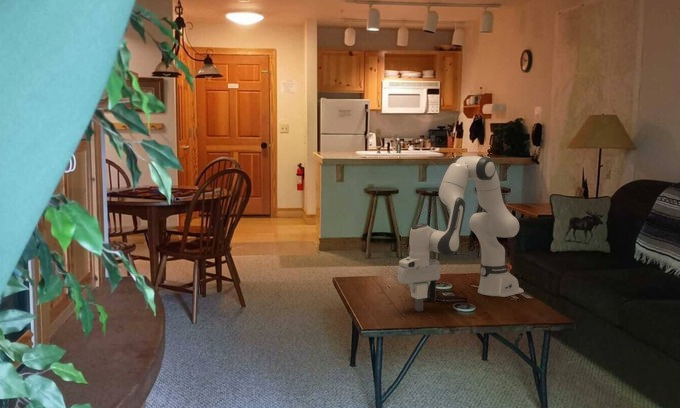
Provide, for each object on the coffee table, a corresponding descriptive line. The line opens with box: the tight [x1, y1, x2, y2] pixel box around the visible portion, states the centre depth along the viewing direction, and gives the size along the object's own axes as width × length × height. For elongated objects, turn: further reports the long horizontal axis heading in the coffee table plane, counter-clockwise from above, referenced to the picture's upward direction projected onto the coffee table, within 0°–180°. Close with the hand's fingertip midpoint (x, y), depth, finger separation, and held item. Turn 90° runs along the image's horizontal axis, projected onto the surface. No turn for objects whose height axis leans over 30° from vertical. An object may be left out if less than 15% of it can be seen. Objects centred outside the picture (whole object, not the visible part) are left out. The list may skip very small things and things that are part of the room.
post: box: [414, 298, 424, 312], centre depth 275 cm, size 3×3×7 cm
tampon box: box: [423, 280, 437, 303], centre depth 293 cm, size 11×9×15 cm
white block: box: [410, 282, 427, 299], centre depth 274 cm, size 5×5×7 cm
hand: (419, 291), depth 274 cm, fingers closed on white block, 5 cm apart
